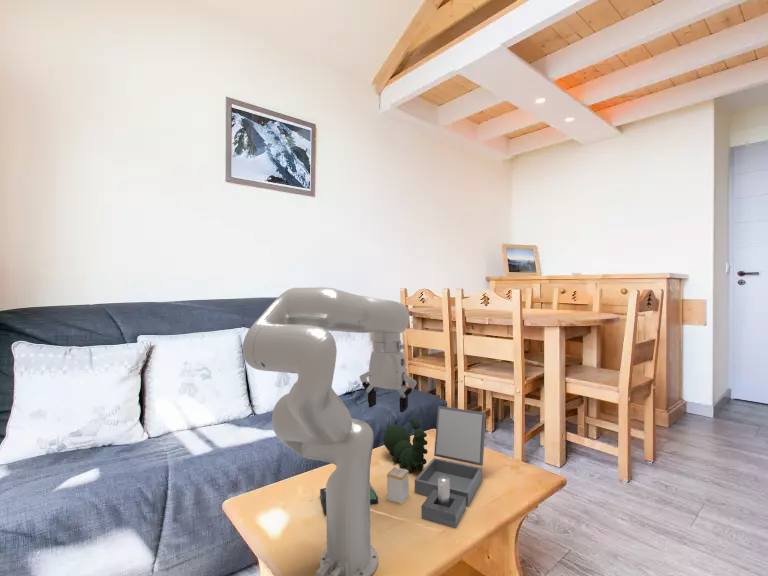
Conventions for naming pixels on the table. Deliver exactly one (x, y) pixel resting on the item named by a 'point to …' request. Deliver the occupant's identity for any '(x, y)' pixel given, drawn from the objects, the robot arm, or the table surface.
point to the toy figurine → (406, 445)
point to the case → (460, 476)
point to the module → (398, 485)
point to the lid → (460, 435)
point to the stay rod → (444, 491)
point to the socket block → (444, 509)
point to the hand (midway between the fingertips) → (387, 408)
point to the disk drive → (372, 497)
